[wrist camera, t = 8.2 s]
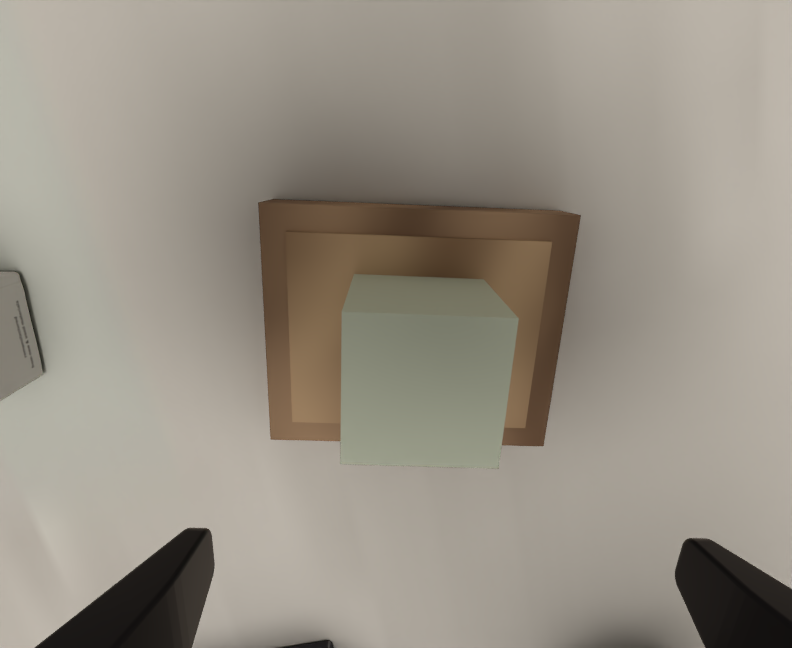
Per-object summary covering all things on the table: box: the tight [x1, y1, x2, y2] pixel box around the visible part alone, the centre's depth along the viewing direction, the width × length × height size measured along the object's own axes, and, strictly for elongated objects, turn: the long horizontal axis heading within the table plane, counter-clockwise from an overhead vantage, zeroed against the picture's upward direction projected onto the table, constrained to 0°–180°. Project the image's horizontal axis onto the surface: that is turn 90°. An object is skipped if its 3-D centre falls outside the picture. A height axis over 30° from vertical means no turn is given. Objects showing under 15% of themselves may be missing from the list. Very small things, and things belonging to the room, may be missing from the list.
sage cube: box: [340, 274, 519, 469], centre depth 16 cm, size 5×5×5 cm
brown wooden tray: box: [258, 199, 581, 446], centre depth 20 cm, size 12×10×2 cm
